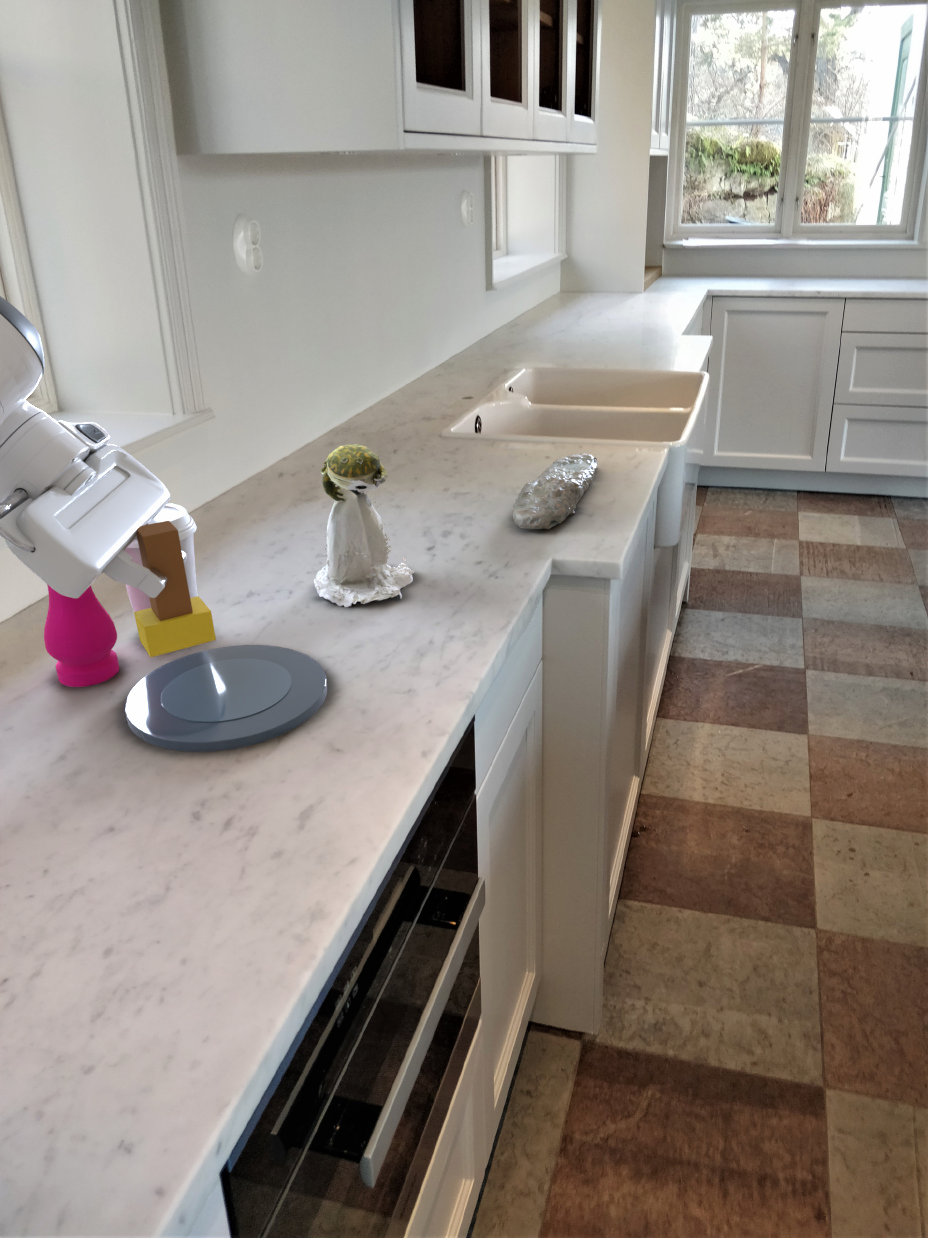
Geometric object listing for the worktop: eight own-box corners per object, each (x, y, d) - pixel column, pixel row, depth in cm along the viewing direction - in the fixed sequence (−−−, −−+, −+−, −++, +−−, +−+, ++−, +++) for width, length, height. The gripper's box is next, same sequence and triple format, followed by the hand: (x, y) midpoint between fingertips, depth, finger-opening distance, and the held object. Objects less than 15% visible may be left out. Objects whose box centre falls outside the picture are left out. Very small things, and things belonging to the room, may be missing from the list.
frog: (300, 605, 118) (282, 460, 110) (334, 565, 130) (320, 432, 122) (393, 610, 116) (382, 462, 108) (419, 569, 127) (411, 433, 119)
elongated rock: (610, 476, 166) (554, 476, 169) (610, 446, 164) (553, 446, 168) (567, 534, 136) (499, 533, 139) (565, 498, 134) (497, 497, 137)
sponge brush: (150, 658, 85) (126, 542, 80) (139, 641, 88) (116, 528, 84) (216, 640, 88) (196, 527, 83) (203, 624, 91) (184, 514, 86)
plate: (155, 777, 85) (153, 765, 85) (107, 686, 101) (104, 675, 101) (359, 712, 94) (358, 701, 94) (285, 638, 110) (284, 628, 110)
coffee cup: (191, 612, 118) (171, 495, 111) (227, 637, 111) (208, 514, 104) (115, 636, 112) (90, 514, 106) (148, 664, 105) (123, 536, 99)
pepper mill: (94, 653, 108) (55, 482, 100) (138, 667, 105) (102, 491, 96) (39, 681, 103) (-7, 502, 94) (84, 696, 99) (41, 512, 91)
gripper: (0, 487, 71) (153, 603, 75) (104, 418, 90) (222, 514, 93) (-42, 544, 73) (109, 654, 77) (67, 465, 92) (185, 558, 96)
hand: (172, 577), depth 85 cm, fingers closed on sponge brush, 4 cm apart
